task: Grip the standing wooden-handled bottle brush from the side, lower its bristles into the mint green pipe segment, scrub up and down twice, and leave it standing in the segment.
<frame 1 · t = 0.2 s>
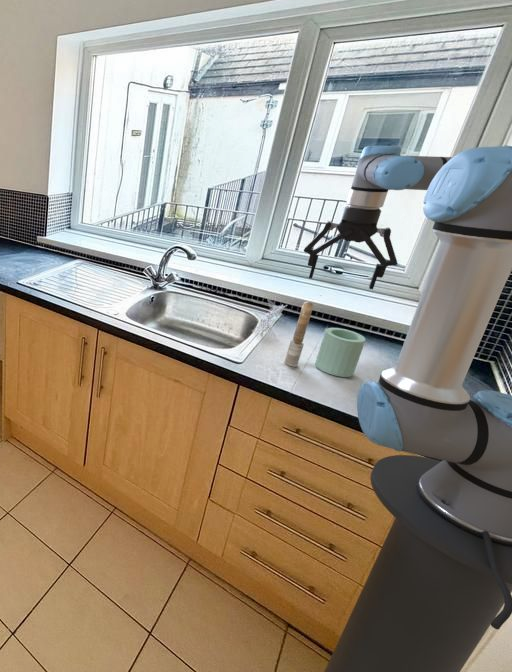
hand: (339, 282, 118), 24 cm above the countertop, tool pointing down, fingers open, 13 cm apart
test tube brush: (268, 327, 146), on the countertop
brush: (290, 363, 123), on the countertop
mint green pipe segment: (333, 368, 121), on the countertop
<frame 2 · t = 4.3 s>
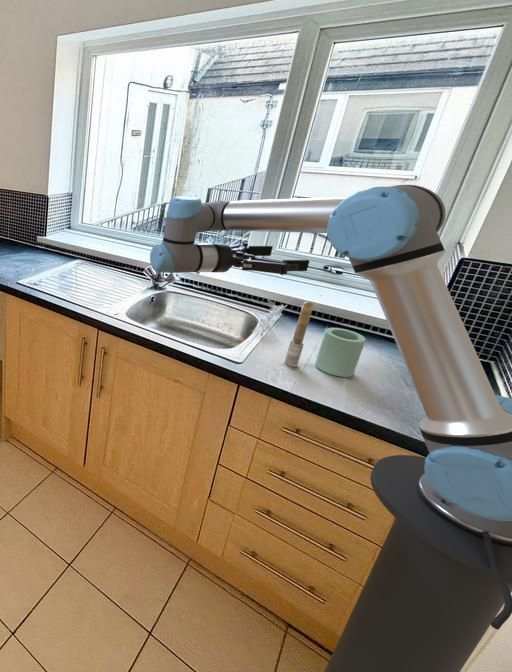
hand: (288, 257, 111), 33 cm above the countertop, tool horizontal, fingers open, 13 cm apart
nothing on the countertop moved.
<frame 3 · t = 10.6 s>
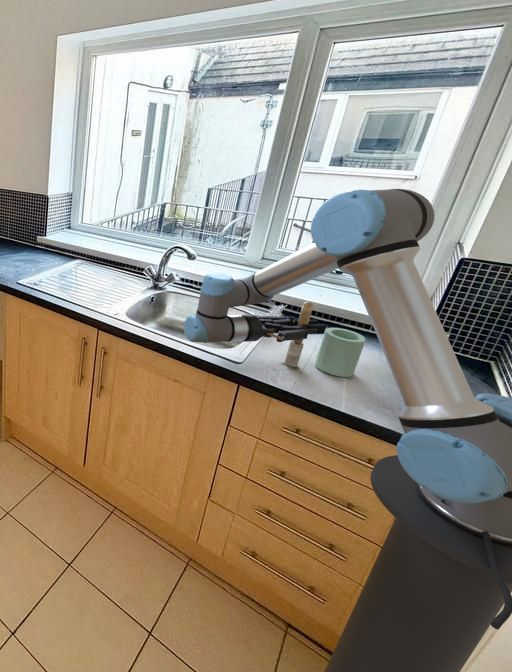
hand: (319, 326, 120), 12 cm above the countertop, tool horizontal, fingers closed on brush, 2 cm apart
brush: (290, 363, 123), on the countertop, touching gripper
everything else where it was.
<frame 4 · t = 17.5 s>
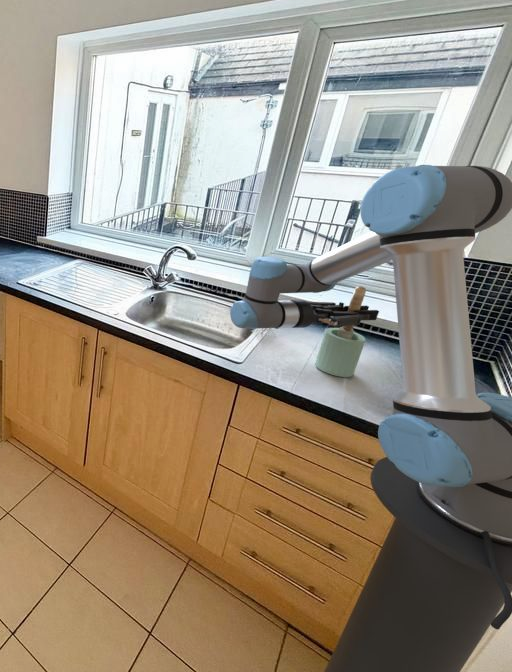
hand: (371, 312, 115), 18 cm above the countertop, tool horizontal, fingers closed on brush, 2 cm apart
brush: (339, 351, 119), point 6 cm above the countertop, touching gripper
everything else where it was.
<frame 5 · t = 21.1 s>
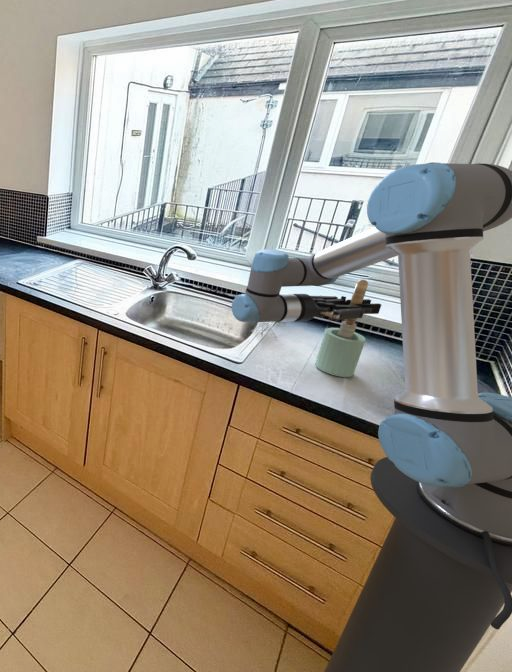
hand: (373, 306, 115), 20 cm above the countertop, tool horizontal, fingers closed on brush, 2 cm apart
brush: (341, 345, 119), point 8 cm above the countertop, touching gripper
everything else where it was.
when the fingers open (13 cm above the countertop, at t = 24.5 s): brush stays where it is, resting on mint green pipe segment.
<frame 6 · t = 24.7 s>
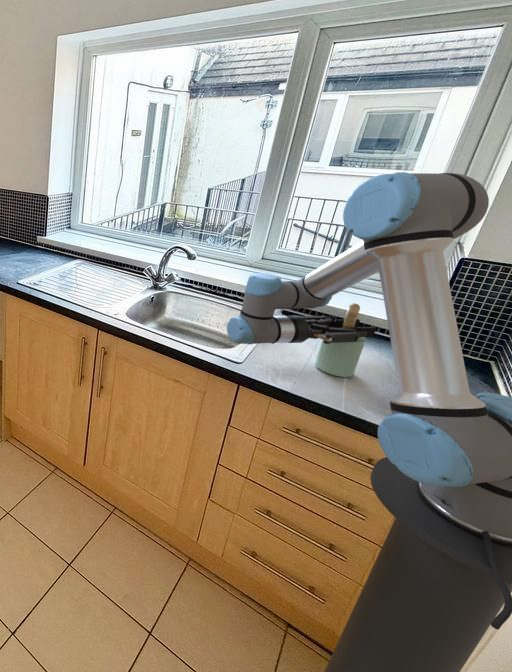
hand: (365, 327, 117), 13 cm above the countertop, tool horizontal, fingers open, 4 cm apart
brush: (334, 366, 121), point 1 cm above the countertop, touching mint green pipe segment
everything else where it was.
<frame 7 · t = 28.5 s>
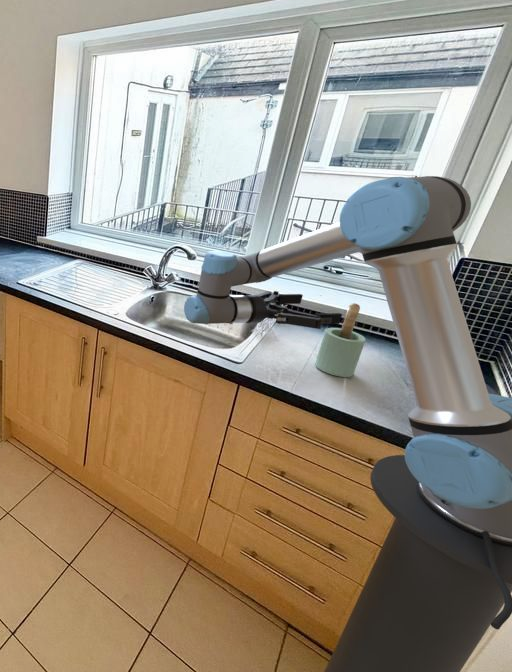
hand: (319, 308, 114), 19 cm above the countertop, tool horizontal, fingers open, 13 cm apart
nothing on the countertop moved.
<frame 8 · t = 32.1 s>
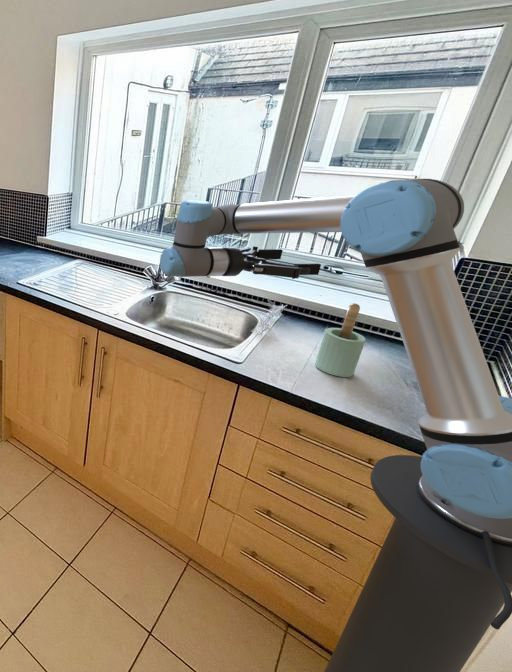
hand: (298, 261, 111), 32 cm above the countertop, tool horizontal, fingers open, 13 cm apart
nothing on the countertop moved.
at the end: brush 0.0 cm off-centre in the mint green pipe segment, point 0.6 cm above the mint green pipe segment's base; the gripper is holding nothing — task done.
